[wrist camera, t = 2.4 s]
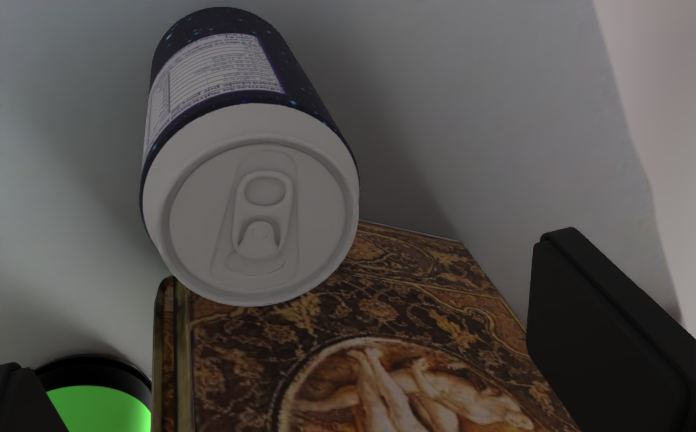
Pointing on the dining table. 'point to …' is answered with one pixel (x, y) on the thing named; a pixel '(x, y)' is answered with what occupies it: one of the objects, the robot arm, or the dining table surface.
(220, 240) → the beverage can
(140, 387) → the bottle
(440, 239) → the book
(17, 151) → the dining table surface
